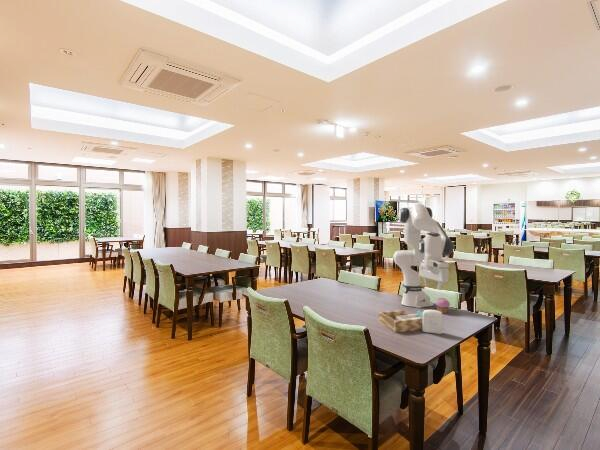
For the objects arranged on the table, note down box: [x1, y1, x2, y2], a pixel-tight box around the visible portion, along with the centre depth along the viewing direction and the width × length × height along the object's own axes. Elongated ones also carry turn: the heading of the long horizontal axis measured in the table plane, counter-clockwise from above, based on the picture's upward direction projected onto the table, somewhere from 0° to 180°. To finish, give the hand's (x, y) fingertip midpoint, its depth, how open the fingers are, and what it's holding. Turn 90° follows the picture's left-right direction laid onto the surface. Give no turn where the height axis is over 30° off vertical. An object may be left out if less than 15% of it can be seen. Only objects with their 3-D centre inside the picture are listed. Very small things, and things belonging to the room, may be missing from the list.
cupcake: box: [434, 297, 451, 314], centre depth 208 cm, size 9×9×10 cm
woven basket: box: [377, 309, 423, 333], centre depth 184 cm, size 18×18×6 cm
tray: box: [395, 309, 424, 321], centre depth 186 cm, size 17×14×4 cm
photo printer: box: [421, 309, 444, 335], centre depth 173 cm, size 10×4×12 cm, turn 72°
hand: (432, 287), depth 173 cm, fingers open, 8 cm apart
